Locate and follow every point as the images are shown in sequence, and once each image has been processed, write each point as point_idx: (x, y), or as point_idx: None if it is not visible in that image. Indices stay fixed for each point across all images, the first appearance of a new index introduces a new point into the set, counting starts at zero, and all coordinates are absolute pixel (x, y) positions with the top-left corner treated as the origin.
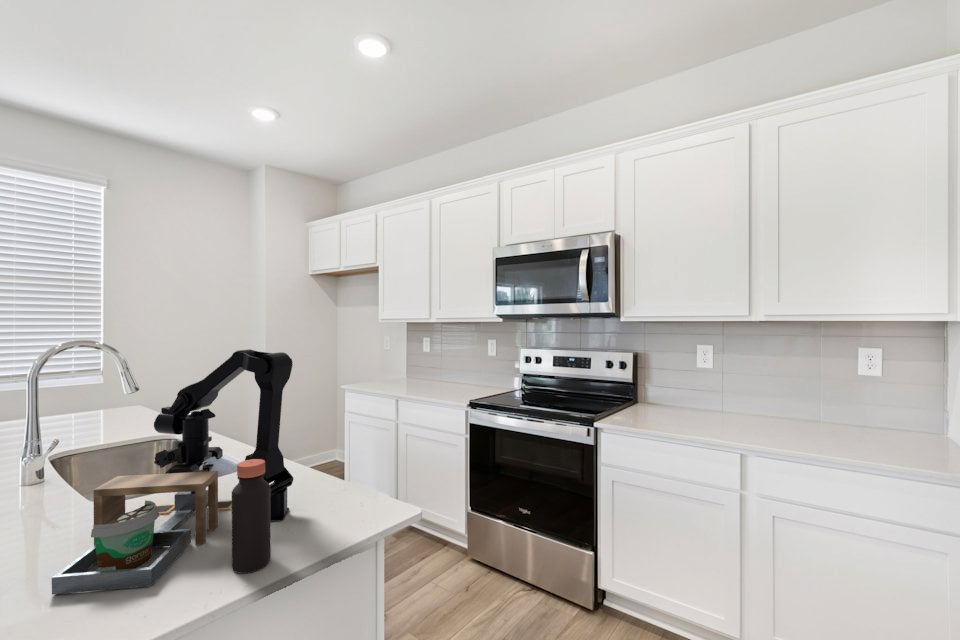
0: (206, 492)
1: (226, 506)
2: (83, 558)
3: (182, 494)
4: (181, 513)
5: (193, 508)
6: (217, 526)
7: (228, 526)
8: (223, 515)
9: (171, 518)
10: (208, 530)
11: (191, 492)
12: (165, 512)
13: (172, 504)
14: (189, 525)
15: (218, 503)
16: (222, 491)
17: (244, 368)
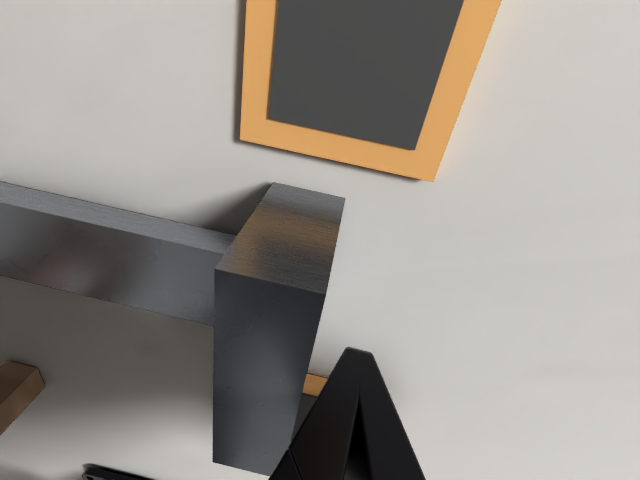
0: (239, 462)
1: None
2: None
3: (214, 336)
4: (115, 267)
5: (200, 321)
6: (33, 391)
7: (58, 410)
8: (170, 403)
9: (25, 220)
10: (6, 362)
11: (253, 396)
12: (244, 114)
13: (451, 130)
14: (53, 293)
15: (311, 403)
16: (586, 412)
17: None
